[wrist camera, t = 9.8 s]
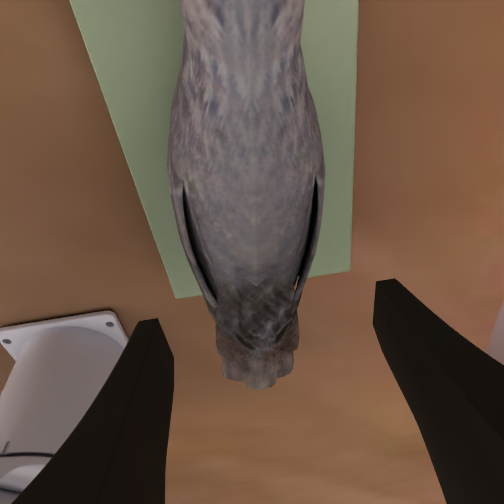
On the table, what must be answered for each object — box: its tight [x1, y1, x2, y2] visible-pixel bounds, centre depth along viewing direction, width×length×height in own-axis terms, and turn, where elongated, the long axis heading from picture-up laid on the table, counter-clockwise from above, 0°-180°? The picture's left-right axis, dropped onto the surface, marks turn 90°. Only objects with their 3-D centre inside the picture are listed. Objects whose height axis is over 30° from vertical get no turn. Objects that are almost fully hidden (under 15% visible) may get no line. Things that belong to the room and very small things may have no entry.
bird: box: [167, 0, 326, 389], centre depth 13 cm, size 5×16×8 cm, turn 2°
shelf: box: [69, 0, 359, 299], centre depth 17 cm, size 19×10×3 cm, turn 8°
